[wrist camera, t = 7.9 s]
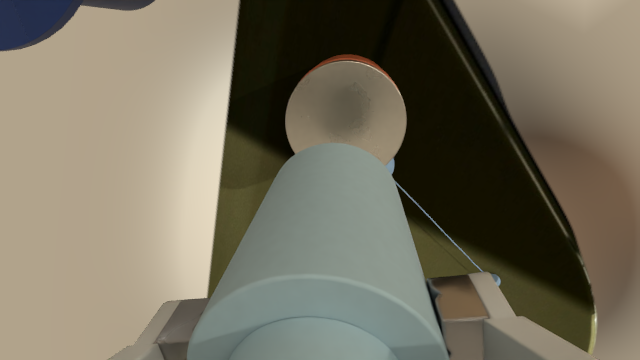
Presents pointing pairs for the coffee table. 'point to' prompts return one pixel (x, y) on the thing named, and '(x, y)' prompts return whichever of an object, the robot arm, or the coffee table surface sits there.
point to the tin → (347, 108)
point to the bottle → (323, 271)
